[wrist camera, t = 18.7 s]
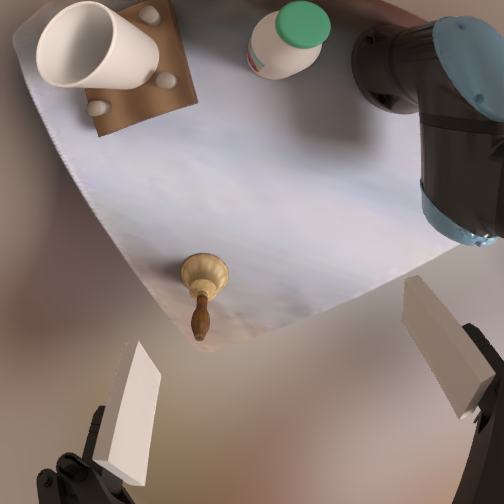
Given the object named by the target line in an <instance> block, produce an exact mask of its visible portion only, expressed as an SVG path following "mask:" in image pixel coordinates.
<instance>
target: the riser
mask: <svg viewBox="0 0 504 504" xmlns="http://www.w3.org/2000/svg"><path fill="white" fill-rule="evenodd" d="M116 13H117V14H118V15H120V16H121V17H122V18H124V19H125V20H127V21H128V22H130V23H131V24H133V25H134V26H135V27H137V28H138V29H140V30H141V31H142V32H144V33H145V34H146V35H148V36H149V37H150V38H152V39H153V40H154V42H155V43H156V45H157V47H158V50H159V62H158V66H157V68H156V70H155V72H154V74H153V75H152V76H151V78H150V79H149V80H148V81H146V82H145V83H144V84H142V85H140V86H138V87H136V88H133V89H127V90H122V89H105V88H85V91H86V95H87V98H88V102H89V103H88V105H87V107H86V112H87V114H88V115H89V116H93V120H94V123H95V127H96V130H97V133H98V137H101V136H104V135H107V134H111V133H113V132H116V131H118V130H121V129H123V128H126V127H128V126H131V125H134V124H136V123H139V122H142V121H144V120H147V119H150V118H153V117H156V116H159V115H161V114H164V113H167V112H171V111H174V110H177V109H180V108H183V107H187V106H190V105H193V104H197V103H198V100H197V96H196V92H195V89H194V85H193V81H192V78H191V74H190V70H189V66H188V63H187V59H186V55H185V51H184V48H183V44H182V40H181V36H180V32H179V29H178V25H177V21H176V17H175V13H174V9H173V5H172V3H171V2H170V0H146V1H143V2H140V3H138V4H135V5H133V6H130V7H128V8H125V9H123V10H121V11H118V12H116Z"/></svg>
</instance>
